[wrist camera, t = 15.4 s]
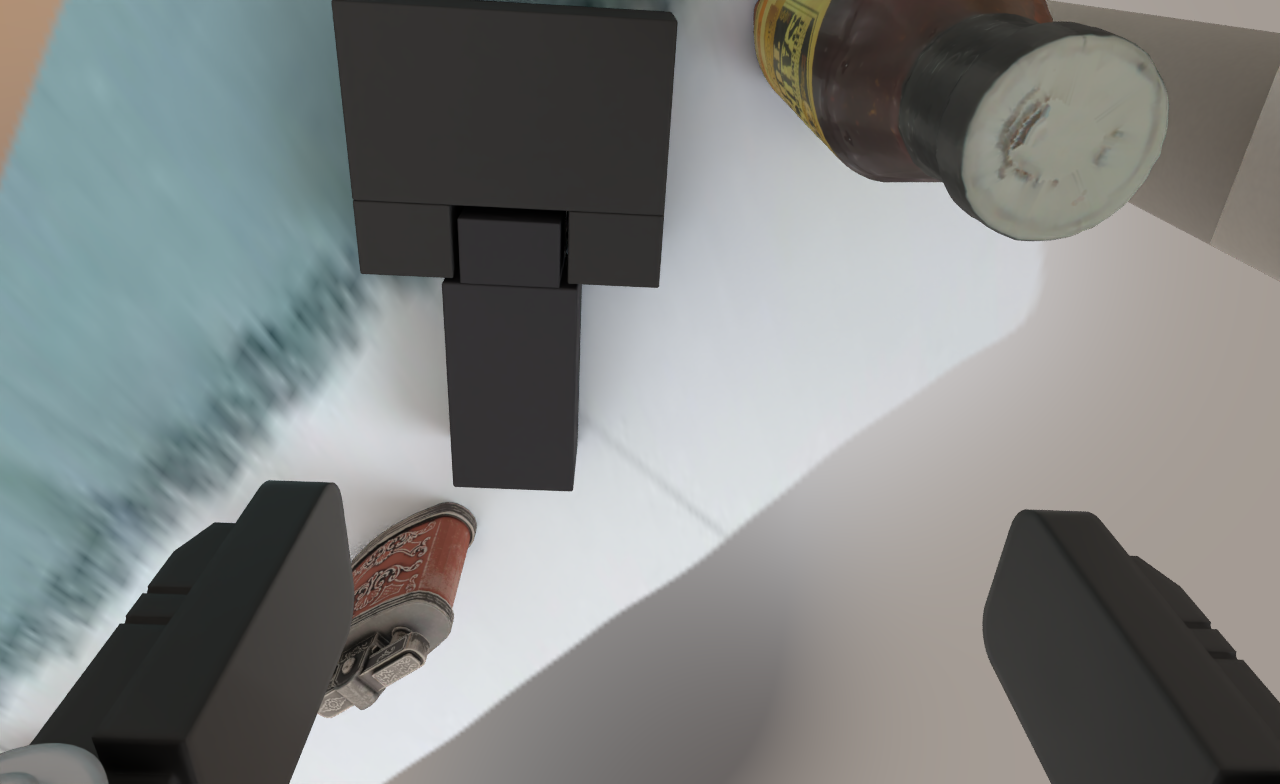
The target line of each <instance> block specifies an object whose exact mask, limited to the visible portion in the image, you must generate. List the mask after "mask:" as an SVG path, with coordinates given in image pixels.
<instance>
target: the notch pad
mask: <svg viewBox="0 0 1280 784" xmlns="http://www.w3.org/2000/svg"><path fill="white" fill-rule="evenodd" d="M332 12H333V21H334V30H335V40H336V49H337V58H338V67H339V77H340V86H341V95H342V105H343V114H344V123H345V133H346V142H347V151H348V161H349V170H350V179H351V189H352V198H353V207H354V216H355V226H356V235H357V244H358V254H359V263H360V272H361V273H362V274H378V275H399V276H421V277H442V278H453V276H454V274H455V272H456V270H457V268H458V266H459V265H460V264H459V243H458V221H457V219H458V217H459V216H460V214H461V212H462V211H463V209H464V207H465V206H483V207H503V208H523V209H543V210H562V211H569V234H568V283H569V284H588V285H609V286H630V287H651V288H658V287H659V278H660V264H661V250H662V235H663V221H664V207H665V193H666V178H667V164H668V150H669V136H670V122H671V107H672V93H673V79H674V65H675V51H676V36H677V20H676V19H675V17H674V15H673V14H672V12H664V11H647V10H631V9H614V8H597V7H580V6H564V5H547V4H530V3H514V2H497V1H480V0H332Z"/></svg>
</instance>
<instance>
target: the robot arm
mask: <svg viewBox="0 0 1280 784" xmlns="http://www.w3.org/2000/svg"><path fill="white" fill-rule="evenodd" d="M353 610H354V581H353V574H352V567H351V559H350V552H349V545H348V538H347V531H346V524H345V517H344V509H343V502H342V497H341V493H340V490H339V488H338V486H337V485H336V484H335V483H328V482H300V481H272V480H268V481H266V482H264V483H263V484H262V485H261V487H260V488H259V489H258V491H257V492H256V494H255V495H254V497H253V498H252V500H251V501H250V502H249V504H248V505H247V507H246V508H245V510H244V511H243V513H242V514H241V516H240V517H239V519H238V520H237V522H236V523H213V524H212V525H210V526H209V527H208V528H206V529H205V530H203V531H202V532H200V533H199V534H198V535H196V536H195V537H193V538H192V539H191V540H189V541H188V542H186V543H185V544H184V545H182V546H181V547H179V548H178V549H176V550H175V551H174V552H173V553H172V554H171V556H170V557H169V558H168V560H167V561H166V563H165V564H164V565H163V567H162V568H161V569H160V571H159V572H158V573H157V575H156V576H155V577H154V579H153V580H152V581H151V583H150V584H149V585H148V591H147V594H146V593H142V595H141V596H140V597H139V599H138V600H137V601H136V603H135V604H134V606H133V607H132V608H131V610H130V611H129V612H128V614H127V615H126V621H125V623H124V624H119V626H118V627H117V628H116V630H115V631H114V632H113V634H112V635H111V636H110V638H109V639H108V640H107V642H106V643H105V644H104V646H103V647H102V648H101V650H100V651H99V653H98V654H97V655H96V657H95V658H94V659H93V661H92V662H91V663H90V665H89V666H88V667H87V669H86V670H85V671H84V673H83V674H82V675H81V677H80V678H79V679H78V681H77V682H76V683H75V685H74V686H73V687H72V689H71V690H70V691H69V693H68V694H67V695H66V697H65V698H64V700H63V701H62V702H61V704H60V705H59V706H58V708H57V709H56V710H55V712H54V713H53V714H52V716H51V717H50V718H49V720H48V721H47V722H46V724H45V725H44V726H43V728H42V729H41V730H40V732H39V733H38V734H37V736H36V737H35V738H34V740H33V741H32V742H31V743H30V745H29V746H24V747H20V748H16V749H12V750H9V751H6V752H3V753H1V754H0V784H289V783H290V780H291V778H292V775H293V773H294V770H295V768H296V765H297V763H298V760H299V758H300V755H301V753H302V750H303V748H304V745H305V743H306V740H307V738H308V735H309V733H310V730H311V728H312V725H313V723H314V720H315V718H316V715H317V713H318V711H319V708H320V706H321V703H322V701H323V698H324V696H325V693H326V691H327V688H328V686H329V683H330V681H331V678H332V676H333V673H334V671H335V668H336V666H337V663H338V661H339V658H340V656H341V653H342V651H343V648H344V646H345V643H346V641H347V638H348V635H349V631H350V628H351V623H352V617H353ZM1210 624H1211V622H1210V621H1209V619H1208V618H1207V617H1206V616H1205V615H1204V614H1203V612H1202V611H1201V610H1200V609H1199V608H1198V607H1197V605H1195V603H1194V602H1193V601H1192V600H1191V599H1190V597H1189V596H1188V595H1187V594H1186V593H1185V591H1184V590H1183V589H1182V588H1181V587H1180V586H1179V585H1177V584H1176V583H1174V582H1173V581H1172V580H1170V579H1169V578H1167V577H1166V576H1165V575H1163V574H1162V573H1160V572H1159V571H1158V570H1156V569H1155V568H1153V567H1152V566H1151V565H1149V564H1148V563H1146V562H1145V561H1144V560H1142V559H1141V558H1139V557H1138V556H1129V555H1128V554H1127V552H1126V551H1125V550H1124V549H1123V547H1122V546H1121V545H1120V544H1119V542H1118V541H1117V540H1116V539H1115V538H1114V536H1113V535H1112V534H1111V533H1110V531H1109V530H1108V529H1107V528H1106V527H1105V525H1104V524H1103V523H1102V522H1101V520H1100V519H1099V518H1098V517H1097V516H1095V515H1094V514H1092V513H1090V512H1081V511H1080V512H1079V511H1053V510H1022V511H1021V512H1019V513H1018V514H1017V515H1016V516H1015V518H1014V520H1013V521H1012V525H1011V527H1010V530H1009V533H1008V536H1007V539H1006V542H1005V545H1004V548H1003V551H1002V555H1001V557H1000V561H999V564H998V567H997V570H996V573H995V576H994V579H993V582H992V585H991V588H990V591H989V595H988V598H987V601H986V604H985V608H984V613H983V638H984V644H985V648H986V652H987V655H988V658H989V660H990V663H991V665H992V666H993V669H994V671H995V673H996V675H997V677H998V679H999V681H1000V683H1001V684H1002V686H1003V688H1004V691H1005V693H1006V694H1007V696H1008V698H1009V701H1010V702H1011V704H1012V706H1013V708H1014V710H1015V712H1016V714H1017V716H1018V718H1019V720H1020V722H1021V724H1022V726H1023V728H1024V730H1025V732H1026V734H1027V736H1028V738H1029V740H1030V742H1031V744H1032V746H1033V748H1034V750H1035V752H1036V754H1037V756H1038V758H1039V760H1040V762H1041V764H1042V766H1043V768H1044V770H1045V772H1046V774H1047V776H1048V778H1049V780H1050V782H1051V784H1280V703H1279V701H1278V700H1277V699H1276V698H1275V697H1274V695H1272V693H1271V692H1270V691H1269V690H1268V688H1267V687H1266V686H1265V685H1264V684H1263V683H1262V681H1260V679H1259V678H1258V677H1257V676H1256V674H1255V673H1254V672H1253V671H1252V670H1251V669H1250V667H1249V666H1248V665H1247V664H1246V663H1245V662H1244V661H1243V660H1238V659H1237V658H1236V651H1235V650H1234V649H1233V648H1232V646H1231V645H1230V644H1229V643H1228V642H1227V641H1226V639H1225V638H1224V637H1223V636H1222V635H1221V634H1220V632H1219V631H1218V630H1217V629H1211V626H1210Z"/></svg>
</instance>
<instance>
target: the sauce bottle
mask: <svg viewBox="0 0 1280 784" xmlns="http://www.w3.org/2000/svg"><path fill="white" fill-rule="evenodd" d="M753 33H754V42H755V51H756V55H757V59H758V62H759V65H760V68H761V70H762V72H763V74H764V76H765V78H766V80H767V81H768V83H769V84H770V86H771V87H772V88H773V89H774V91H775V92H776V93H777V94H778V95H779V96H780V97H781V98H782V99H783V100H784V101H785V102H786V103H787V104H788V105H789V106H790V108H791V109H792V110H793V111H794V112H795V113H796V114H797V115H798V116H799V118H800V119H801V120H802V121H803V122H804V123H805V124H806V125H807V126H808V127H809V128H810V129H811V130H812V131H813V132H814V134H815V135H816V136H817V137H818V138H820V139H821V140H822V141H823V143H824V144H825V145H826V146H827V147H828V148H829V149H830V150H831V151H832V152H833V153H834V154H835V155H836V156H837V157H838V158H839V159H840V160H841V161H842V162H843V163H844V164H845V165H846V166H847V167H849V168H850V169H851V170H853V171H855V172H856V173H858V174H860V175H862V176H864V177H866V178H868V179H871V180H875V181H880V182H943V183H944V185H945V187H946V189H947V191H948V193H949V195H950V196H951V198H952V199H953V201H954V202H955V203H956V204H957V205H958V206H959V207H960V208H961V209H962V210H964V211H965V212H966V213H967V214H969V215H970V216H971V217H973V218H975V219H977V220H979V221H980V222H981V223H983V224H984V225H985V226H987V227H988V228H990V229H992V230H994V231H996V232H997V233H999V234H1002V235H1004V236H1007V237H1009V238H1012V239H1014V240H1021V241H1046V240H1055V239H1061V238H1066V237H1070V236H1073V235H1076V234H1078V233H1080V232H1082V231H1084V230H1087V229H1090V228H1093V227H1095V226H1096V225H1098V224H1099V223H1101V222H1102V221H1104V220H1105V219H1107V218H1108V217H1110V216H1111V215H1112V214H1114V213H1115V212H1116V211H1118V210H1119V209H1120V208H1121V207H1123V206H1124V205H1125V204H1126V203H1127V202H1128V201H1129V200H1130V199H1131V197H1132V196H1133V195H1134V194H1135V192H1136V191H1137V190H1138V189H1139V187H1140V186H1141V185H1142V184H1143V183H1144V182H1145V180H1146V178H1147V177H1148V175H1149V173H1150V171H1151V168H1152V166H1153V165H1154V163H1155V162H1156V161H1157V159H1158V158H1159V156H1160V153H1161V148H1162V144H1163V142H1164V139H1165V137H1166V132H1167V124H1168V111H1169V101H1168V95H1167V91H1166V88H1165V85H1164V82H1163V80H1162V78H1161V76H1160V74H1159V73H1158V71H1157V69H1156V67H1155V65H1154V64H1153V62H1152V60H1151V58H1150V56H1149V55H1148V54H1147V53H1146V52H1145V51H1144V50H1142V49H1141V48H1140V47H1139V46H1137V45H1136V44H1135V43H1133V42H1131V41H1129V40H1127V39H1125V38H1123V37H1120V36H1117V35H1115V34H1112V33H1110V32H1107V31H1105V30H1102V29H1099V28H1096V27H1090V26H1086V25H1082V24H1078V23H1073V22H1053V19H1052V17H1051V15H1050V12H1049V10H1048V7H1047V3H1046V1H1045V0H758V2H757V4H756V5H755V9H754V31H753Z"/></svg>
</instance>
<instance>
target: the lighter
mask: <svg viewBox="0 0 1280 784" xmlns="http://www.w3.org/2000/svg"><path fill="white" fill-rule="evenodd" d="M476 527H477V523H476V520H475V517H474V516H473V515H472V513H471V512H470V511H469V510H467V509H466V508H465V507H464V506H461V505H459V504H456V503H449V502H447V503H441V504H438V505H436V506H433V507H431V508H428V509H426V510H423V511H421V512H418V513H416V514H414V515H412V516H410V517H408V518H406V519H405V520H403V521H401V522H399V523H397V524H395V525H393V526H392V527H390V528H389V529H387V530H386V531H385V532H383V533H382V534H381V535H379V536H378V537H377V538H375V539H374V540H373V541H371V542H370V543H369V544H368V545H367V546H366V547H365V548H364V549H363V550H362V551H361V552H360V553H359V554H358V555H357V556H356V557H355V558H354V559H353V561H352V563H351V567H352V574H353V581H354V610H353V617H352V623H351V628H350V631H349V635H348V638H347V641H346V643H345V646H344V648H343V651H342V653H341V656H340V658H339V661H338V663H337V666H336V668H335V671H334V673H333V676H332V678H331V681H330V683H329V686H328V688H327V691H326V693H325V696H324V698H323V701H322V703H321V706H320V708H319V711H318V714H319V715H321V716H323V717H326V718H332V717H334V716H336V715H338V714H340V713H342V712H343V711H345V710H347V709H349V708H350V707H352V706H354V705H355V706H356V707H358V708H359V709H360V710H364V709H366V708H368V707H369V706H371V705H372V704H373V703H374V702H375V701H376V700H377V699H378V697H379V696H380V694H381V693H382V692H383V691H384V690H385V688H386V687H387V686H389V685H390V684H392V683H394V682H396V681H397V680H399V679H401V678H403V677H404V676H406V675H408V674H410V673H411V672H413V671H415V670H417V669H418V668H420V667H422V666H423V665H424V664H425V662H426V658H427V655H428V654H429V653H430V652H431V651H432V650H433V649H435V648H436V647H437V646H438V645H439V644H440V643H441V642H443V641H444V640H445V639H446V638H447V637H448V635H449V634H450V632H451V628H452V624H453V619H454V613H453V610H452V607H453V603H454V599H455V596H456V592H457V588H458V584H459V580H460V576H461V572H462V569H463V565H464V561H465V557H466V553H467V549H468V548H469V547H470V545H471V544H472V542H473V541H474V537H475V533H476Z"/></svg>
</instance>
